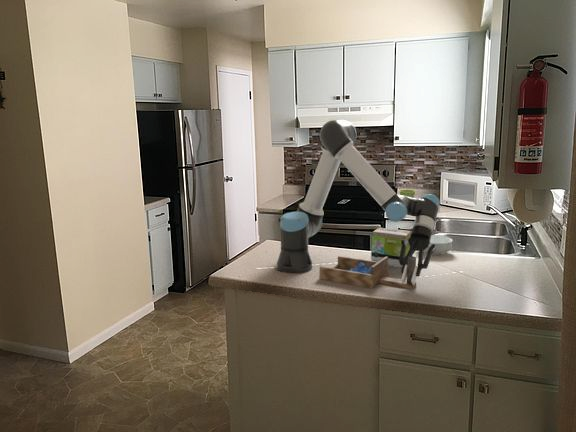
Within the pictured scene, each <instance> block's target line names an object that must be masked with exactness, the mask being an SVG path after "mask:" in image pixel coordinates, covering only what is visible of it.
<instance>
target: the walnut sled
mask: <svg viewBox="0 0 576 432" xmlns="http://www.w3.org/2000/svg"><path fill="white" fill-rule="evenodd" d="M361 262H362V263H364V264H365V267H366V268H370V267H371V274H365V273H359V272H353V271H349V270H350V269H351V268H352V269H353V270H354V269H355V268H356V267H357V268H358V265H359V263H361ZM388 264H389V263H388V257H384V258H383V259H381V260H380V261H378V262H376V261H371V260H367V259H361V258H355V257H354V258H353V257H348V256H340V255H338V256H337V264H336V265H335V266H333V267H327V266H319V272H318V273H319V276H318V277H319V280H322V281H329V282H335V283H340V284H346V285H352V286H357V287H362V288H367V289H373V288H374V287H375V286H377V285H378V284H380V285H381V284H383V285H388V286H394V287H400V288H405V289H410V290H411V289H412V290H413V289H415V287H417V281H415V285H412V282H411V280H412V276H413V273H414V269H415V266H417V257H416V256H409V257H408V265H407V277H406V280H405V283H402V280H401V279H402V278H401V279H400V278H393V277H388V276H389V266H388Z"/></svg>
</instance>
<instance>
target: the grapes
mask: <svg viewBox="0 0 576 432" xmlns="http://www.w3.org/2000/svg"><path fill="white" fill-rule="evenodd" d="M348 271H353V272H359V273H365V274H371V267H370V268H366V267H365V264H364V263H362V262H361V263H359V265H358V268H357V267H356V268H355V269H354V270H353V269H352V268H351V269H350V270H348Z"/></svg>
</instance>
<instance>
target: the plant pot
mask: <svg viewBox="0 0 576 432" xmlns="http://www.w3.org/2000/svg"><path fill="white" fill-rule="evenodd" d="M398 191H399V194H400V195H403V196H408V197H413V198H415V193H416V192H417V190H414V189H399V190H398Z"/></svg>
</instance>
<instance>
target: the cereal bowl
mask: <svg viewBox="0 0 576 432" xmlns="http://www.w3.org/2000/svg"><path fill="white" fill-rule="evenodd" d="M430 243H431V244H435V247H436V250H435V251H434V252H433V254H432V256H440V255H442V254H444V253H445V254H446V253H447V252H449V251H451V249H452V247H453V239H452V238H450V237H449V236H448V237H447V236H445V235H444V236H443V235H438V234H437V235H436V234H432V235H431V239H430ZM428 249H429V247H427V248H426V249H425V250H424V254H425V255H427V252H428Z"/></svg>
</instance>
